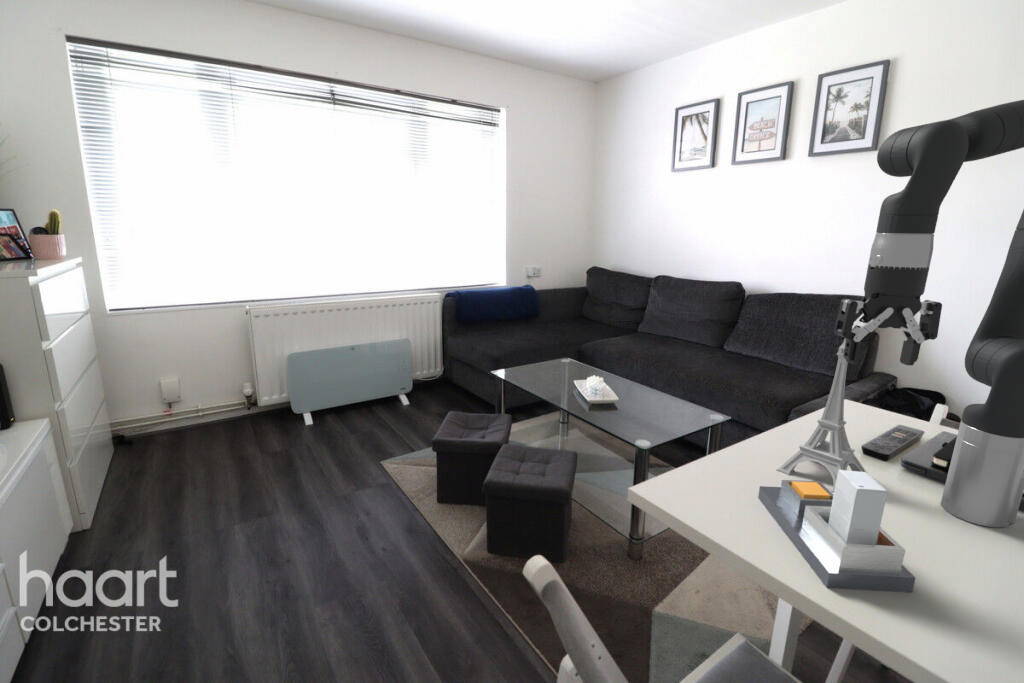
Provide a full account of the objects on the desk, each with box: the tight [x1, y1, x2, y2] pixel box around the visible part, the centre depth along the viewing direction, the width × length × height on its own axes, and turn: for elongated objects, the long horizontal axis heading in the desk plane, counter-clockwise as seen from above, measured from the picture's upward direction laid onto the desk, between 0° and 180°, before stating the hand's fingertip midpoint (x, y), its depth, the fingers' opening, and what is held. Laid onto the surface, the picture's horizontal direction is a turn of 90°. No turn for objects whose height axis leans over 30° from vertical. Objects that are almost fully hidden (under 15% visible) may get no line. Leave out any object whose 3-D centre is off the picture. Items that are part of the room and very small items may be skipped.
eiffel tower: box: [776, 338, 869, 493], centre depth 100 cm, size 13×13×30 cm
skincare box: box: [828, 469, 888, 545], centre depth 75 cm, size 6×4×12 cm
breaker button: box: [791, 481, 830, 500], centre depth 87 cm, size 4×4×3 cm
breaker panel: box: [757, 479, 917, 593], centre depth 82 cm, size 12×24×6 cm, turn 176°
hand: (878, 363), depth 79 cm, fingers open, 8 cm apart
